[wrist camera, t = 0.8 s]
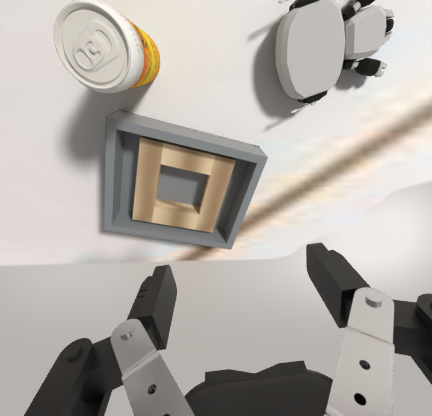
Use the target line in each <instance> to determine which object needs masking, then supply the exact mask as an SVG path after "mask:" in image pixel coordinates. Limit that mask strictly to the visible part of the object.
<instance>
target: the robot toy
mask: <svg viewBox="0 0 432 416" xmlns="http://www.w3.org/2000/svg"><path fill="white" fill-rule="evenodd" d="M284 1H286V0H279V1H278V2H279V3H282V2H284ZM374 1H375V0H356V3H355V4H354V5H353V6H348V7H347V8H346V9H345V10H344V11H343V12H342V13H341V10H340V7H339V6H338V4H337V3H336V1H335V0H296V1H295V2H294V3H293V4H292V5H291V6H290V9H289V12H288V13H287V14H286V15H285V16H284V17H283V19H282V20H281V22H280V25H279V27H278V30H277V36H276V46H275V62H276V69H277V73H278V76H279V80H280V83H281V85H282V88H283V90H284V92H285V93H286V94H287V95H288V96H289V97H290V98H295V99H298V101H299V102H302V103H309V104H306V105H304V106H302V107H300V108H298V109H294V110H292V111H291V113H295V112H297V111H298V110H300V109H302V108H305V107H307V106H309V105H313V104H316V101H318V100H320V99H321V98H322V97H324V96H325V95H326V94H327V91H328V90H329V89H331V88H332V87H333V86H334V85H335V84H336V82H337V80H338V78H339V76H340V73H341V69H346V70H348V69H351V67H353V68H354V69H355V71H356V72H357V73H359V74H362V75H367V76H373V75H374V76H375V77H380V76H382V75H383V74H384V72H383V71H381V69H386V67H387V64H386V63H384V62H383V61H379V60H375V59H370V58H365V59H362V60H359V61H354V59H359V58H364V57H368V56H371V55H373V54H374V53H375V52H377V51H378V49H379V48H380V46H382V45H383V44H384V43H386V42H387V41H388V40H389V38H390V36H391V34H392V32H389V31H390V30H391V29H392V28H393V24H394V21H393V19H388V18H392V17H394V15H393V12H392V10H388V9H383V8H382V7H381V6H375V5H374V6H371V7H368V8H365V9H363V10H360V11H358V12H356V11H357V10H358V9H359V8H361V7H365V6H367V5H370V4H371V3H372V2H374ZM386 19H387V20H386ZM386 32H388V33H386Z"/></svg>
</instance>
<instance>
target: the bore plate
mask: <svg viewBox="0 0 432 416" xmlns="http://www.w3.org/2000/svg"><path fill="white" fill-rule="evenodd" d="M235 162H236V160H235V158H234V157H230V156H225V155H221V154H217V153H213V152H209V151H205V150H201V149H197V148H192V147H188V146H184V145H180V144H176V143H172V142H168V141H164V140H159V139H155V138H151V137H147V136H143V135H142V136H141V137H140V145H139V155H138V166H137V176H136V187H135V197H134V207H133V218H132V219H133V220H139V221H145V222H151V223H157V224H163V225H169V226H175V227H181V228H187V229H193V230H199V231H205V232H211V233H212V232H213V229H214V226H215V223H216V220H217V217H218V214H219V211H220V208H221V205H222V202H223V199H224V195H225V192H226V189H227V186H228V183H229V180H230V177H231V174H232V171H233V168H234V165H235ZM162 165H166V166H171V167H175V168H180V169H184V170H189V171H193V172H198V173H203V174H207V178H206V181H205V185H204V189H203V192H202V196H201V200H200V204H199V206H195V205H190V204H185V203H179V202H174V201H169V200H164V199H158V198H157V193H158V186H159V180H160V173H161V167H162Z"/></svg>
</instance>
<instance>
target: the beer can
mask: <svg viewBox="0 0 432 416" xmlns="http://www.w3.org/2000/svg"><path fill="white" fill-rule="evenodd" d="M54 41H55V46H56V50H57V52H58V55H59V57H60V59H61V61H62V63H63V64H64V66H65V67H66V68H67V70H68V71H69V72H70V73H71V74H72V75H73V76H74V77H75V78H76V79H77V80H78V81H79V82H80V83H82V84H83V85H84V86H86V87H88V88H90V89H92V90H94V91H97V92H100V93H116V92H120V91H123V90H127V89H131V88H134V87H138V86H142V85H145V84H148V83H150V82H151V81H153V80H154V79H155V77H156V76H157V74H158V72H159V68H160V55H159V51H158V49H157V46H156V44H155V43H154V41H153V40H152V39H151V38H150V36H149V35H147V34H146V33H145V32H144V31H142V30H141V29H140V28H138V27H137V26H136V25H135V24H133V23H132V22H131V21H129V20H128V19H127V18H125V17H124V16H123V15H122V14H120V13H119V12H118V11H116V10H115V9H114V8H112V7H111V6H110V5H108V4H106V3H104V2H102V1H100V0H74V1H72V2H70V3H69V4H68V5H66V6H65V7H64V8H63V9H62V10H61V11H60V13H59V14H58V16H57V18H56V21H55V25H54Z"/></svg>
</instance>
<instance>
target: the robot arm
mask: <svg viewBox="0 0 432 416" xmlns="http://www.w3.org/2000/svg"><path fill="white" fill-rule="evenodd" d="M306 250H307V252H306V255H307V271H308V274H309V277H310V279H311V281H312V282H313V284H314V286H315V287H316V289H317V291H318V293H319V294H320V296H321V298H322V300H323V301H324V303H325V305H326V307H327V308H328V310H329V312H330V313H331V315H332V317H333V318H334V320H335V322H336V324H337V326H338V327H339V328H344V327H345V331H344V335H343V340H342V344H341V348H340V353H339V357H338V361H337V365H336V370H335V374H334V378H333V380H332V379H331V378H329V377H327V376H325V375H323V374H321V373H319V372H316V371H312V370H308V369H306V366H305V364H304V361H296V362H288V363H279V364H277V365H274V366H272V367H270V368H267V369H265V370H262V371H260V372H258V373H248V372H242V371H235V370H230V369H228V370H219V371H211V372H205V381H204V382H202V383H201V384H199V385H197V386H195V387H194V388H193V389H191V390H190V391H189V392H188V393H187V394H186V395H185V396H183V394H182V392H181V390H180V389H179V387H178V385H177V383H176V382H175V380H174V378H173V376H172V374H171V373H170V371H169V369H168V367H167V366H166V364H165V362H164V360H163V359H162V357H161V355H160V353H159V352H158V350H163V349H166V346H167V340H168V336H169V331H170V326H171V321H172V316H173V311H174V306H175V301H176V296H177V288H176V283H175V280H174V277H173V274H172V271H171V267H170V266H169V265H164V266H157V267H156V268H155V270H154V273H153V275H152V276H149V277H147V278H146V279H145V281H144V282H143V283H142V284H141V287H140V289H139V292H138V294H137V296H136V297H137V298H136V299H135V302H134V304H133V306H132V308H131V311H130V313H129V316H128V318H127V320H126V321H125V322H122V323H121V324H120V325H118V326H117V327H116V328H115V330H114V331H113V333H112V335H111V336H110V337H108V338H106V339H104V340H101V341H99V342H97V343H94V344H92V342H91V341H90V340H89V339H87V338H82V339H78V340H76V341H74V342H72V343H71V344H69V345H68V346H67V347H66V348H65V349H64V350H63V351H62V352H61V353H60V355H59V356H58V358H57V360H56V361H55V363H54V365H53V367H52V368H51V370H50V372H49V373H48V375H47V377H46V379H45V380H44V382H43V384H42V385H41V387H40V389H39V391H38V392H37V394H36V396H35V397H34V399H33V401H32V403H31V404H30V406H29V408H28V410H27V411H26V413H25V415H24V416H104V414H105V411H106V408H107V404H108V402H109V398H110V395H111V392H112V390H113V389H115V388H117V387H120V386H122V385H124V387H125V390H126V393H127V395H128V399H129V401H130V405H131V407H132V410H133V413H134V416H392V408H393V379H394V353H398V354H403V355H408V356H411V357H412V359H413V360H414V361H415V363H416V364H417V365H418V367H419V368H420V369H421V371H422V372H423V374H424V375H425V376H426V378H427V379H428V380H429V382H430V383H431V384H432V294H423V295H421V296H419V297H418V299H417V302H407V301H398V300H393V299H391V298H390V297H389V296H388V295H387V294H386V293H384V292H382V291H380V290H378V289H374V288H371V287H370V286H369V285H368V284H367V283H366V282H365V280H363V278H362V277H361V276H360V275H359V274H358V273H357V271H356V270H355V269H354V268H352V266H351V265H350V264H349V263H348V261H347V260H346V259H345V258H344V257H343V256H342V255H341V254H339V253H338V252H336V251H334V250H330V251H328V250H327V248H326V247H325V246H324V245H323V244H322V243H314V244H308V245H307V247H306Z"/></svg>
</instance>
